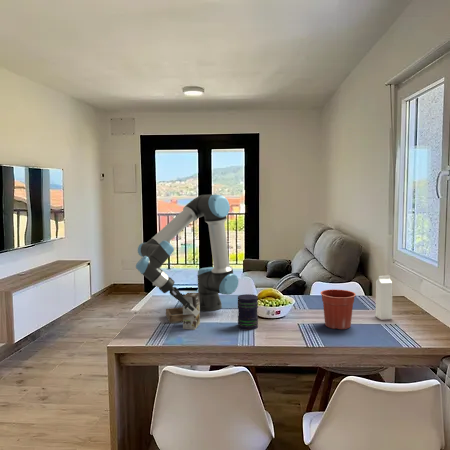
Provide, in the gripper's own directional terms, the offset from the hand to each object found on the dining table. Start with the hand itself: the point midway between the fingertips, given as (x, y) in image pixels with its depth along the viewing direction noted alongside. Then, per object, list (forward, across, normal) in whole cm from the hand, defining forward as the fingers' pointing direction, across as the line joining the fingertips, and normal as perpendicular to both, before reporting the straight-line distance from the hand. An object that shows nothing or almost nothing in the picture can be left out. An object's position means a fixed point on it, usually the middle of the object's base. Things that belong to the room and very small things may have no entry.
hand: (195, 310), depth 205 cm
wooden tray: (+2, -15, -9) cm, 18 cm away
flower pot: (+53, +21, +41) cm, 70 cm away
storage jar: (+23, +9, +11) cm, 27 cm away
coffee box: (+4, 0, -7) cm, 8 cm away
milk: (+73, +17, +62) cm, 97 cm away
